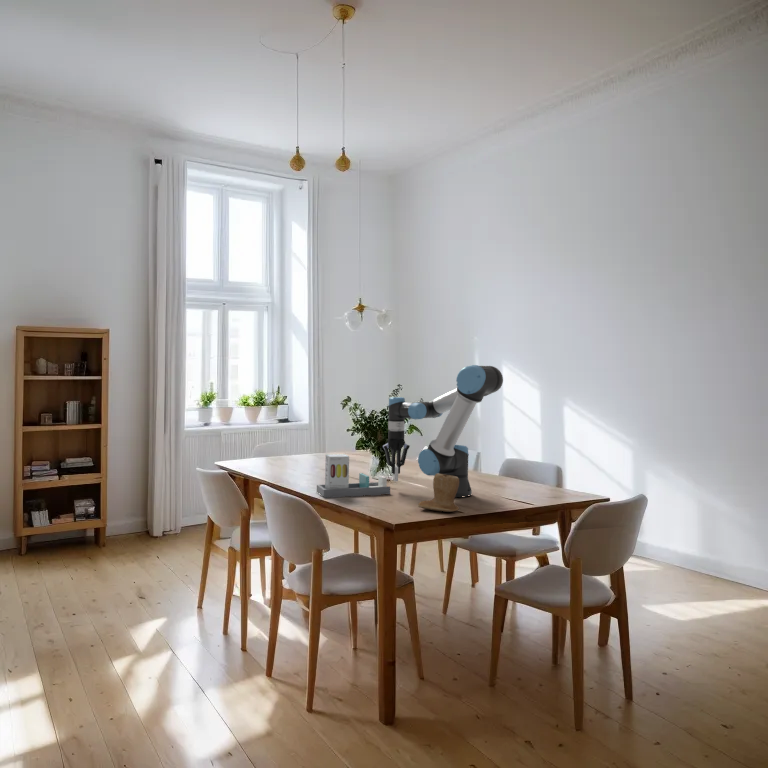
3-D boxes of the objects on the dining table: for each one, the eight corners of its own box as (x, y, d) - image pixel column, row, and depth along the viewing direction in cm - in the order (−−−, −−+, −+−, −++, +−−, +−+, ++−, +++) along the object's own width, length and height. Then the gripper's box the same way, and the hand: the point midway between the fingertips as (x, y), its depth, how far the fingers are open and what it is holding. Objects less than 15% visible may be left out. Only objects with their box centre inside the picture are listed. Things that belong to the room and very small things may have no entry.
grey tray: (390, 494, 309) (390, 486, 309) (323, 497, 299) (323, 489, 299) (380, 489, 322) (380, 482, 322) (316, 492, 312) (316, 484, 312)
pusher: (388, 491, 311) (388, 475, 310) (365, 492, 307) (366, 476, 307) (380, 487, 321) (380, 472, 320) (359, 488, 317) (359, 473, 317)
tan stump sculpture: (464, 510, 276) (465, 473, 275) (450, 515, 266) (451, 477, 265) (431, 506, 284) (432, 470, 284) (417, 510, 274) (417, 473, 274)
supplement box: (328, 494, 302) (328, 456, 302) (324, 490, 311) (324, 454, 311) (349, 493, 305) (349, 456, 304) (344, 490, 314) (345, 453, 313)
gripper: (385, 431, 311) (384, 482, 312) (412, 430, 315) (411, 481, 316) (380, 429, 318) (379, 480, 319) (406, 429, 323) (405, 479, 323)
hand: (395, 480), depth 317 cm, fingers closed
